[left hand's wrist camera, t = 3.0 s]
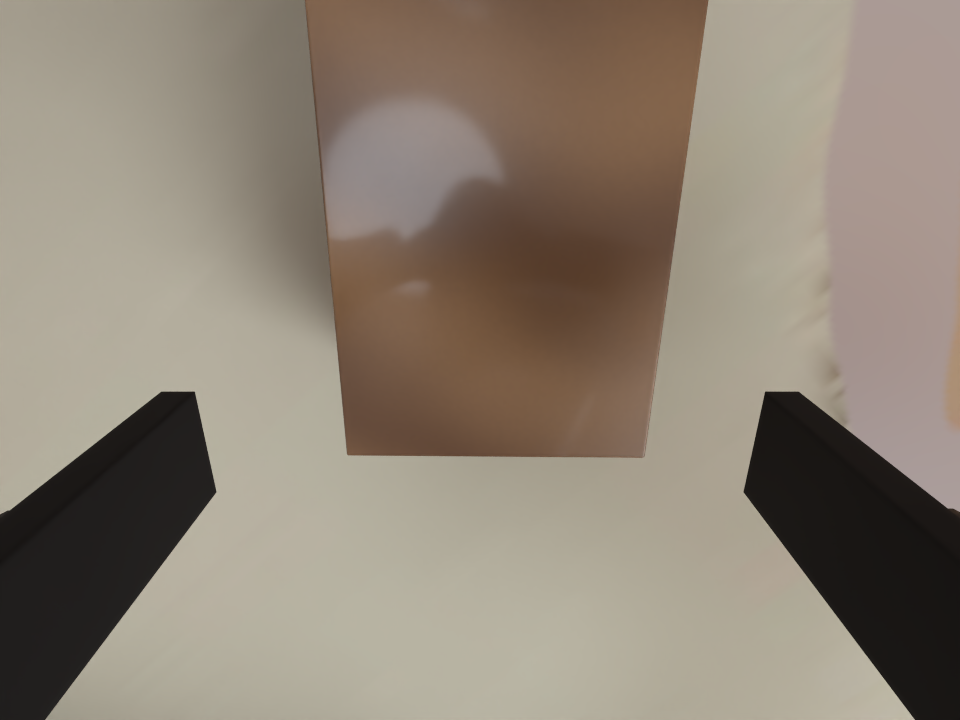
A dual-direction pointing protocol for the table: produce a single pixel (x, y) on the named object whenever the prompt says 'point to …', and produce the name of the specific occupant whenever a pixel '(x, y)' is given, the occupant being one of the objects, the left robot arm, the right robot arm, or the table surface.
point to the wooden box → (501, 216)
